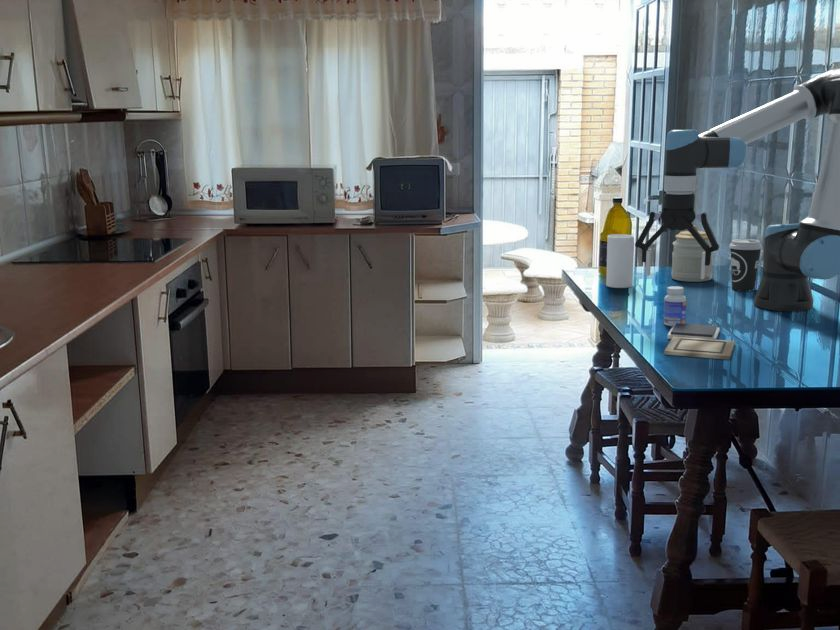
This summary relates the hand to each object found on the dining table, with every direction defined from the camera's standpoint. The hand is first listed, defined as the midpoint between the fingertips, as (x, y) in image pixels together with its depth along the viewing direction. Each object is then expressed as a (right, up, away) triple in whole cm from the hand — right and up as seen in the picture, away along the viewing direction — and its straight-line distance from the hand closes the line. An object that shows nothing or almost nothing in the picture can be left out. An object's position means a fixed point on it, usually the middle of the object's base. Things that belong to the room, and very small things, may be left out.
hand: (674, 276), depth 219 cm
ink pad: (+2, -15, -9) cm, 17 cm away
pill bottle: (+1, -12, +3) cm, 13 cm away
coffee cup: (+34, -2, +45) cm, 56 cm away
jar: (+24, +2, +64) cm, 69 cm away
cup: (-1, 0, +56) cm, 56 cm away
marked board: (-1, -18, -21) cm, 28 cm away
